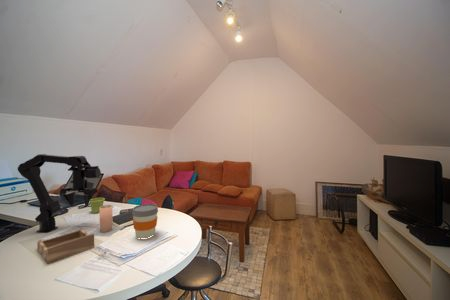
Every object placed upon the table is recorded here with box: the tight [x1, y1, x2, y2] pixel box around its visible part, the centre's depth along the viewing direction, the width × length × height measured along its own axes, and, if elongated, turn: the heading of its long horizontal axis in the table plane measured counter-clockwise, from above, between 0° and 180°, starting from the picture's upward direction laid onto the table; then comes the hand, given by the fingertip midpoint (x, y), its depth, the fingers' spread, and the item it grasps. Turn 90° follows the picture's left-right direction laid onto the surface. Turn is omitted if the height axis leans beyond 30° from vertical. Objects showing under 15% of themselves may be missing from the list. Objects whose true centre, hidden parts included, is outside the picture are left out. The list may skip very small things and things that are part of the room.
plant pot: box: [89, 197, 106, 214], centre depth 138 cm, size 9×9×9 cm
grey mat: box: [88, 225, 126, 238], centre depth 107 cm, size 13×13×1 cm
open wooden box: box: [36, 228, 95, 265], centre depth 89 cm, size 18×16×7 cm
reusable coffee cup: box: [131, 203, 159, 239], centre depth 103 cm, size 13×13×15 cm
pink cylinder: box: [99, 204, 113, 233], centre depth 107 cm, size 6×6×13 cm
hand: (79, 205), depth 111 cm, fingers open, 9 cm apart
